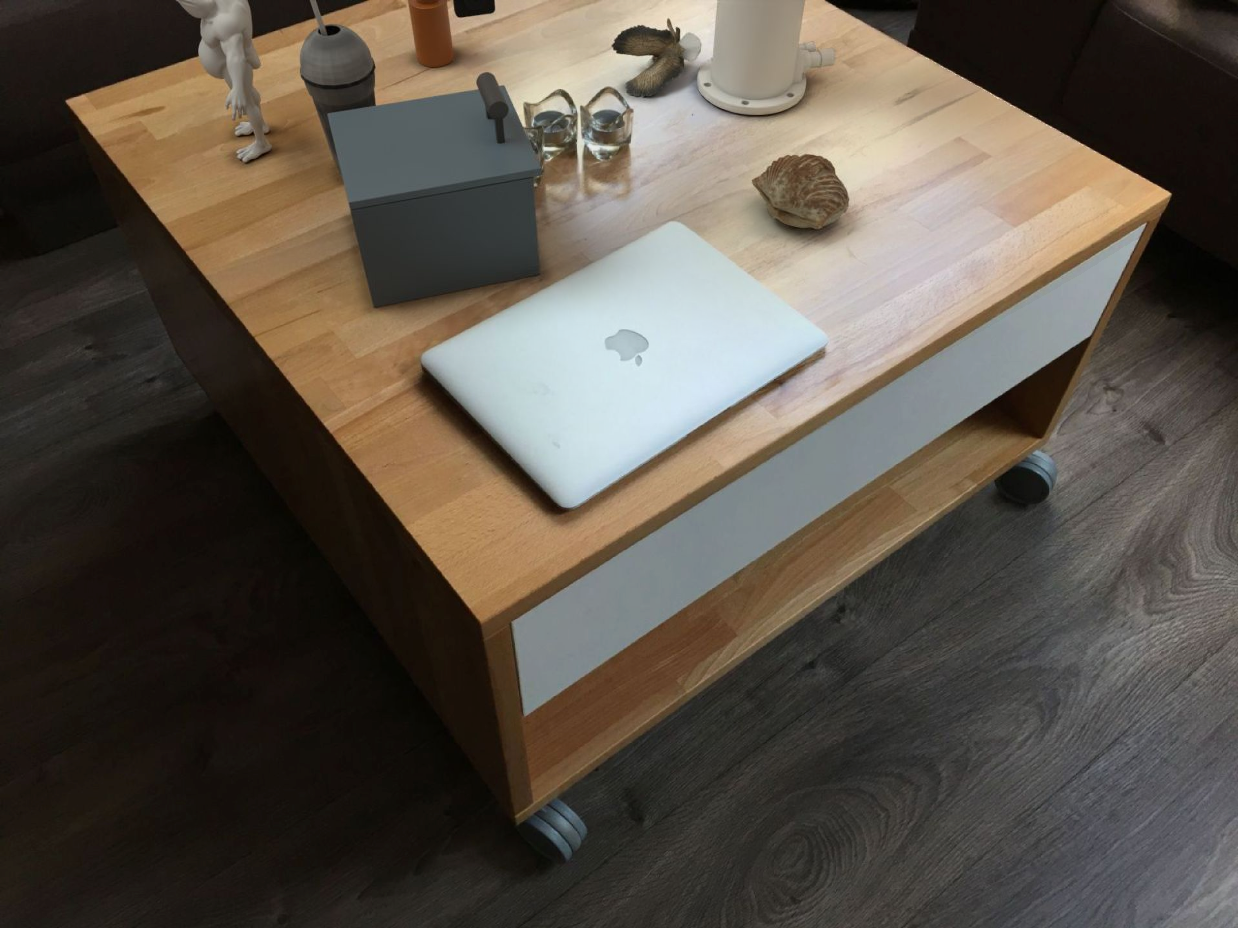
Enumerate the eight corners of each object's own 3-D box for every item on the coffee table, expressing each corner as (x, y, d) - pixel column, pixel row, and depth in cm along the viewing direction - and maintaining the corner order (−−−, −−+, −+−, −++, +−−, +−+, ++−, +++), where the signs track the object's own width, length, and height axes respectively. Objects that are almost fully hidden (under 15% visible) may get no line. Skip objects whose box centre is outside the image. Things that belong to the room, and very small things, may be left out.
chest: (506, 190, 106) (496, 94, 98) (540, 274, 98) (533, 177, 89) (352, 218, 103) (328, 121, 95) (373, 307, 95) (350, 210, 86)
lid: (505, 92, 98) (500, 43, 94) (542, 175, 90) (539, 125, 86) (328, 121, 95) (316, 71, 91) (350, 210, 86) (338, 159, 82)
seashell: (802, 259, 101) (855, 220, 104) (812, 204, 95) (868, 165, 98) (735, 211, 105) (788, 175, 108) (740, 156, 99) (796, 120, 102)
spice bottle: (449, 46, 125) (439, -34, 117) (457, 64, 122) (447, -16, 114) (414, 51, 124) (401, -28, 116) (420, 70, 121) (408, -10, 114)
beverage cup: (381, 194, 106) (341, 5, 90) (314, 185, 107) (264, -3, 91) (404, 154, 110) (370, -32, 95) (340, 146, 111) (296, -40, 96)
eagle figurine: (650, 40, 123) (598, 54, 118) (683, 0, 118) (630, 13, 112) (683, 94, 123) (632, 110, 118) (717, 57, 118) (666, 72, 112)
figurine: (220, 103, 116) (167, -59, 102) (280, 95, 117) (236, -67, 103) (225, 196, 105) (167, 29, 91) (292, 186, 107) (244, 19, 93)
